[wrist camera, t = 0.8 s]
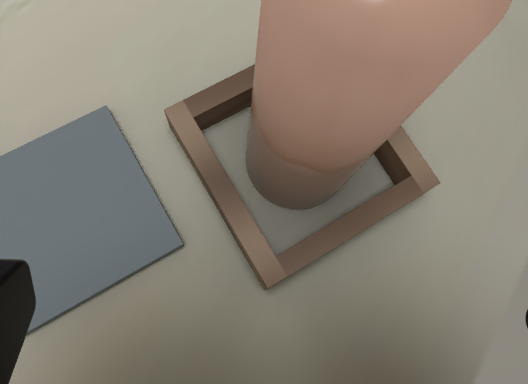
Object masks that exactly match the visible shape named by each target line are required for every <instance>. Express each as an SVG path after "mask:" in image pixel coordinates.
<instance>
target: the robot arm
mask: <svg viewBox="0 0 528 384" xmlns="http://www.w3.org/2000/svg"><path fill="white" fill-rule="evenodd" d="M35 307H36V296H35V291H34V286H33V281H32V276H31V271H30V267H29V265H28V263H27V262H26V261H25V260H22V259H0V384H9V381H10V378H11V376H12V373H13V370H14V367H15V365H16V362H17V359H18V356H19V353H20V351H21V348H22V345H23V342H24V340H25V337H26V334H27V331H28V329H29V326H30V323H31V320H32V318H33V315H34V312H35ZM526 325H527V328H528V310H527V312H526Z"/></svg>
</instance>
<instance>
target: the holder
mask: <svg viewBox="0 0 528 384" xmlns="http://www.w3.org/2000/svg"><path fill="white" fill-rule="evenodd" d="M254 70H255V65H253V66H251V67H249V68H247V69H245V70H243V71H241V72H238V73H236V74H234V75H232V76H230V77H228V78H226V79H224V80H222V81H220V82H218V83H216V84H214V85H212V86H210V87H208V88H206V89H204V90H202V91H200V92H198V93H196V94H194V95H192V96H190V97H188V98H186V99H184V100H182V101H180V102H178V103H176V104H174V105H172V106H170V107H168V108H166V109H164V112H165V115H166V117H167V120H168V123H169V126H170V128H171V129H172V131H173V133H174V135H175V136H176V138H177V140H178V141H179V143H180V145H181V147H182V148H183V150H184V152H185V154H186V155H187V157H188V159H189V160H190V162H191V164H192V166H193V167H194V169H195V171H196V172H197V174H198V176H199V178H200V179H201V181H202V183H203V185H204V186H205V188H206V190H207V191H208V193H209V195H210V197H211V198H212V200H213V202H214V203H215V205H216V207H217V209H218V210H219V212H220V214H221V216H222V217H223V219H224V221H225V222H226V224H227V226H228V228H229V229H230V231H231V233H232V235H233V236H234V238H235V240H236V241H237V243H238V245H239V247H240V248H241V250H242V252H243V253H244V255H245V257H246V259H247V260H248V262H249V264H250V266H251V267H252V269H253V271H254V272H255V274H256V276H257V278H258V279H259V281H260V283H261V284H262V286H263V288H264V290H265V289H268V288H270V287H271V286H273V285H275V284H276V283H278V282H280V281H281V280H283V279H284V278H286V277H288V276H289V275H291V274H293V273H294V272H296V271H298V270H299V269H301V268H302V267H304V266H306V265H307V264H309V263H311V262H312V261H314V260H316V259H317V258H319V257H320V256H322V255H324V254H325V253H327V252H329V251H330V250H332V249H334V248H335V247H337V246H338V245H340V244H342V243H343V242H345V241H347V240H348V239H350V238H352V237H353V236H355V235H356V234H358V233H360V232H361V231H363V230H365V229H366V228H368V227H370V226H371V225H373V224H374V223H376V222H378V221H379V220H381V219H383V218H384V217H386V216H388V215H389V214H391V213H392V212H394V211H396V210H397V209H399V208H401V207H402V206H404V205H406V204H407V203H409V202H410V201H412V200H414V199H415V198H417V197H419V196H420V195H422V194H424V193H425V192H427V191H428V190H430V189H432V188H433V187H435V186H437V185H438V184H440V181H439V180H438V178H437V177H436V176H435V174H434V173H433V171H432V170H431V168H430V167H429V165H428V164H427V162H426V161H425V160H424V158H423V157H422V155H421V154H420V152H419V151H418V149H417V148H416V147H415V145H414V144H413V142H412V141H411V139H410V138H409V136H408V135H407V134H406V132H405V131H404V129H403V128H402V126H400V127H399V128H398V129H397V130H396V131H395V132H394V133H393V134H392V135H391V136H390V137H389V138H388V139H387V140H386V141H385V142H384V143H383V144H382V145H381V146H380V147H379V148H378V149H377V150H376V151H375V153H374V154H375V155H376V157H377V158H378V160H379V161H380V163H381V164H382V166H383V167H384V169H385V170H386V172H387V173H388V175H389V176H390V178H391V179H392V181H393V182H394V184H395V186H393V187H391V188H390V189H388V190H386V191H385V192H383V193H381V194H380V195H378V196H376V197H375V198H373V199H371V200H370V201H368V202H366V203H365V204H363V205H361V206H360V207H358V208H356V209H355V210H353V211H351V212H350V213H348V214H346V215H345V216H343V217H341V218H340V219H338V220H336V221H334V222H333V223H331V224H329V225H328V226H326V227H324V228H323V229H321V230H319V231H318V232H316V233H314V234H313V235H311V236H309V237H308V238H306V239H304V240H303V241H301V242H299V243H298V244H296V245H294V246H293V247H291V248H289V249H288V250H286V251H284V252H283V253H281V254H279V255H278V256H275V255H274V253H273V251H272V250H271V248H270V246H269V245H268V243H267V241H266V239H265V238H264V236H263V234H262V233H261V231H260V229H259V228H258V226H257V224H256V223H255V221H254V219H253V218H252V216H251V214H250V213H249V211H248V209H247V207H246V206H245V204H244V202H243V201H242V199H241V197H240V196H239V194H238V192H237V191H236V189H235V187H234V186H233V184H232V182H231V181H230V179H229V177H228V175H227V174H226V172H225V170H224V169H223V167H222V165H221V164H220V162H219V160H218V159H217V157H216V155H215V154H214V152H213V150H212V149H211V147H210V145H209V143H208V142H207V140H206V138H205V137H204V135H203V133H202V132H201V131H202V130H204V129H206V128H208V127H210V126H211V125H213V124H215V123H217V122H219V121H221V120H223V119H225V118H227V117H229V116H231V115H233V114H235V113H237V112H238V111H240V110H242V109H244V108H246V107H248V106H250V105H251V100H252V90H253V80H254Z"/></svg>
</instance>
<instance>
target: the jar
mask: <svg viewBox="0 0 528 384" xmlns="http://www.w3.org/2000/svg"><path fill="white" fill-rule="evenodd" d="M511 1H512V0H261V9H260V19H259V29H258V40H257V50H256V60H255V70H254V80H253V90H252V100H251V110H250V120H249V130H248V140H247V150H246V167H247V172H248V175H249V177H250V180H251V182H252V183H253V185H254V186H255V188H256V189H257V191H258V192H259V193H260V194H261V195H262V196H263V197H265V198H266V199H267V200H269V201H270V202H272V203H274V204H276V205H278V206H281V207H284V208H288V209H308V208H312V207H315V206H318V205H320V204H322V203H324V202H325V201H327V200H328V199H329V198H331V197H332V196H333V195H334V194H335V193H336V192H337V191H338V190H339V189H340V188H341V187H342V186H343V185H344V184H345V182H346V181H347V180H348V179H349V178H350V177H351V176H352V175H353V174H354V173H355V172H356V171H357V170H358V169H359V168H360V167H361V166H362V165H363V164H364V163H365V162H366V161H367V160H368V159H369V158H370V157H371V156H372V155H373V154H374V153H375V151H376V150H377V149H378V148H379V147H380V146H381V145H382V144H383V143H384V142H385V141H386V140H387V139H388V138H389V137H390V136H391V135H392V134H393V133H394V132H395V131H396V130H397V129H398V128H399V127H400V126H401V125H402V124H403V123H404V121H405V120H406V119H407V118H408V117H409V116H410V115H411V114H412V113H413V112H414V111H415V110H416V109H417V108H418V107H419V106H420V105H421V104H422V103H423V102H424V101H425V100H426V99H427V98H428V97H429V96H430V95H431V94H432V93H433V91H434V90H435V89H436V88H437V87H438V86H439V85H440V84H441V83H442V82H443V81H444V80H445V79H446V78H447V77H448V76H449V75H450V74H451V73H452V72H453V71H454V70H455V69H456V68H457V67H458V66H459V65H460V64H461V63H462V62H463V60H464V59H465V58H466V57H467V56H468V55H469V54H470V53H471V52H472V51H473V50H474V49H475V48H476V47H477V46H478V45H479V44H480V43H481V42H482V41H483V40H484V39H485V38H486V37H487V36H488V35H489V34H490V33H491V32H492V30H493V29H494V28H495V27H496V26H497V25H498V23H499V22H500V21H501V20H502V19H503V17H504V15H505V13H506V12H507V10H508V8H509V7H510V4H511Z"/></svg>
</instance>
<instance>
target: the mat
mask: <svg viewBox="0 0 528 384" xmlns="http://www.w3.org/2000/svg"><path fill="white" fill-rule="evenodd" d="M183 246H184V244H183V242H182V240H181V238H180V237H179V235H178V233H177V231H176V229H175V228H174V226H173V224H172V222H171V220H170V219H169V217H168V215H167V213H166V211H165V210H164V208H163V206H162V204H161V202H160V201H159V199H158V197H157V195H156V193H155V192H154V190H153V188H152V186H151V184H150V183H149V181H148V179H147V177H146V175H145V174H144V172H143V170H142V168H141V166H140V165H139V163H138V161H137V159H136V157H135V156H134V154H133V152H132V150H131V148H130V147H129V145H128V143H127V141H126V139H125V138H124V136H123V134H122V132H121V130H120V129H119V127H118V125H117V123H116V121H115V120H114V118H113V116H112V114H111V112H110V111H109V109H108V107H107V106H103V107H101V108H99V109H97V110H95V111H93V112H91V113H89V114H87V115H85V116H83V117H81V118H79V119H77V120H75V121H72V122H70V123H68V124H66V125H64V126H62V127H60V128H58V129H56V130H54V131H52V132H50V133H48V134H46V135H44V136H41V137H39V138H37V139H35V140H33V141H31V142H29V143H27V144H25V145H23V146H21V147H19V148H17V149H15V150H13V151H10V152H8V153H6V154H4V155H2V156H0V259H22V260H25V261H26V262H27V263H28V265H29V267H30V271H31V276H32V281H33V286H34V291H35V296H36V307H35V312H34V315H33V318H32V320H31V323H30V326H29V329H28V331H27V334H29V333H31V332H33V331H34V330H36V329H38V328H40V327H42V326H43V325H45V324H47V323H49V322H50V321H52V320H54V319H56V318H57V317H59V316H61V315H63V314H64V313H66V312H68V311H70V310H71V309H73V308H75V307H77V306H79V305H80V304H82V303H84V302H86V301H87V300H89V299H91V298H93V297H94V296H96V295H98V294H100V293H101V292H103V291H105V290H107V289H109V288H110V287H112V286H114V285H116V284H117V283H119V282H121V281H123V280H124V279H126V278H128V277H130V276H131V275H133V274H135V273H137V272H138V271H140V270H142V269H144V268H146V267H147V266H149V265H151V264H153V263H154V262H156V261H158V260H160V259H161V258H163V257H165V256H167V255H168V254H170V253H172V252H174V251H176V250H177V249H179V248H181V247H183ZM27 334H26V335H27Z"/></svg>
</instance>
